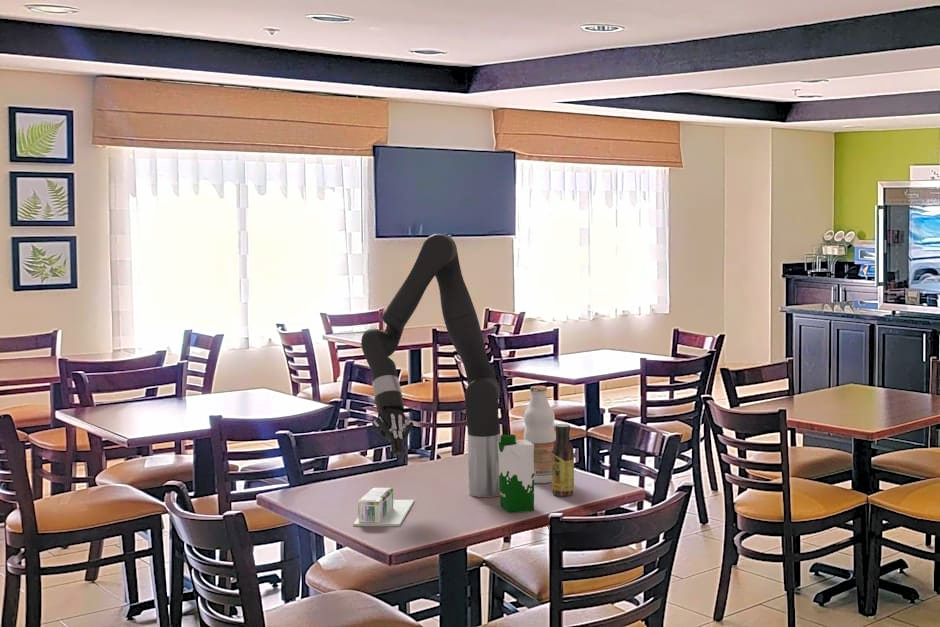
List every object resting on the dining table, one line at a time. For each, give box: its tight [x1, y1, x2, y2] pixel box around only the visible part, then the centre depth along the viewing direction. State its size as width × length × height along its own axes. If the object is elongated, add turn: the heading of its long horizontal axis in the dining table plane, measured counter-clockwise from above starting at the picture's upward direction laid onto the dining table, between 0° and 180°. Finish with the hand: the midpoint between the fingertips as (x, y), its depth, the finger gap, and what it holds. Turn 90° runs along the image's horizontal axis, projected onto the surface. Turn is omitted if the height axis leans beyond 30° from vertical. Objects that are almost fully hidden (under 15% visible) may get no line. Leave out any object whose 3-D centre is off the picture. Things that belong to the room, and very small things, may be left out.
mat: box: [352, 499, 415, 527], centre depth 281 cm, size 12×24×1 cm, turn 174°
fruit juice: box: [523, 385, 556, 484], centre depth 313 cm, size 9×9×28 cm
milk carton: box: [497, 433, 535, 514], centre depth 282 cm, size 9×9×20 cm
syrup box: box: [357, 487, 395, 523], centre depth 277 cm, size 6×6×14 cm
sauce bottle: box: [551, 423, 575, 497], centre depth 295 cm, size 7×6×20 cm
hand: (398, 453), depth 284 cm, fingers closed
